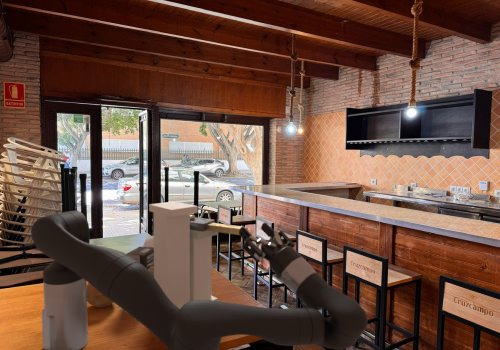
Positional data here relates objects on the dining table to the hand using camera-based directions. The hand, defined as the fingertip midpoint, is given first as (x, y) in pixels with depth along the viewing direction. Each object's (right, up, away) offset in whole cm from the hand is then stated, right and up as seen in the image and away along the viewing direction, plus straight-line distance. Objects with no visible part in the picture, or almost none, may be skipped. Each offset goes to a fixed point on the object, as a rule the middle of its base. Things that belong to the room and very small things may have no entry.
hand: (252, 227), depth 92 cm
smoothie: (-35, -25, +33) cm, 54 cm away
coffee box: (-36, -26, +19) cm, 48 cm away
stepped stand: (-21, -27, +16) cm, 38 cm away
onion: (-46, -27, +14) cm, 55 cm away
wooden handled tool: (-12, -3, +14) cm, 18 cm away
